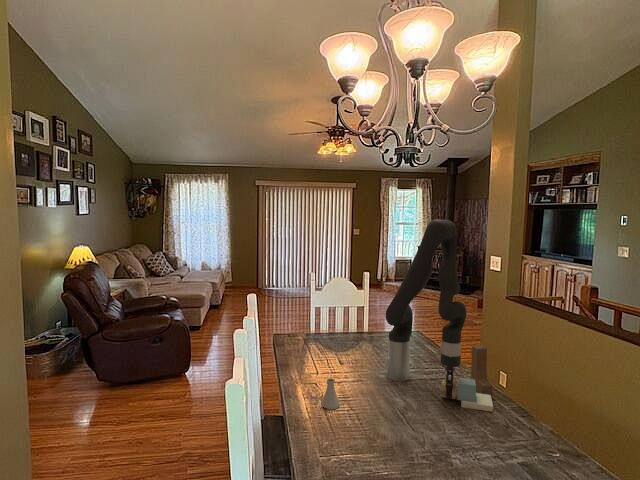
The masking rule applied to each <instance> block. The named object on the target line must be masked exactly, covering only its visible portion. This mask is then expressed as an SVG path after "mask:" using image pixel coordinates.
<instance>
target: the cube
mask: <svg viewBox="0 0 640 480" xmlns="http://www.w3.org/2000/svg"><path fill="white" fill-rule="evenodd" d="M457 392H458V395H459V399H463V400H470V401H476V393H477V392H476V383H475V380H474V379H471V378H465V377H458V389H457Z"/></svg>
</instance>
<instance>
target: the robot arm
mask: <svg viewBox="0 0 640 480" xmlns="http://www.w3.org/2000/svg"><path fill="white" fill-rule="evenodd" d="M457 242H458V231H457V227H456V224H455V223H454V222H453V221H451V220H449V219H437V218H436V219H432V220H431V221H430V222H429V223H428V225H427V226H426V227H425V231H424V233H423V236H422V239H421V241H420V244H419V247H418V249H417V251H416V252H415V255H414V258H413V259H412V261H411V263H410V265H409V267H408V269H407V272H406V274H405V276H404V277H403V280H402V282H401V284H400V286H399V288H398V290H397V292H396V294H395V295H394V297H393V298H392V300H391V302H390V303H389V304H388V306H387V307H386V311H385V316H384V317H385V320H386V322H387V324H388V325H390V326H391V327H392V329H391V330H390V332H389V333H388V349H387V351H388V356H387V366H386V367H387V369H386V370H387V371H386V379H388V380H392V381H395V382H406V381H408V380H409V379H410V355H411V354H410V353H411V352H410V348H411V344H410V343H411V336H412V332H413V322H414V321H413V320H414V317H413V316H414V314H413V309H412V308H411V306H410V303H411V302H412V301H413V300H414V299H415V298H416V297H417V296H418V295H419V294H420V293H421V292H422V291H423V290H424V288H425V287H426V285H427V283H428V281H429V280H430V278H431V276H432V273H433V258H434V255H435V254H436V253H435V252H436V251H437V249H438V247H439V245H440V244H441V245H440V246H441V252H442V254H441V255H442V256H441V260H440V261H441V262H440V266H439V269H438V270H439V271H438V280H439V282H438V283H439V290H440V293H439V294H440V295H439V300H438V306H437V307H438V314H439V317H441V319H442V320H443V321H446V322H448V323H447V324H445V325H444V326H443V327H442V329H441V330H442V333H441V334H442V336H441V344H440V361H439V362H440V364H441V365H442V366H445V367H444V380H445V381H446V397H447V398H446V399H451V398H452V389H453V383H454V381H455V376H456V368H457V367H460V366H461V363H462V361H461V359H462V332H463V331H462V330H463V328H464V326H465V325H464V324H465V321H466V318H467V308H466V306H465V304H464V302H461V301H460V300H456V301H453V300H454V297H455V296H456V295H457V296H458V294H459V293H460V286H459V279H458V278H459V277H458V270H457V268H458V267H457V248H458V247H457V244H458V243H457ZM447 384H451V385H447Z"/></svg>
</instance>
